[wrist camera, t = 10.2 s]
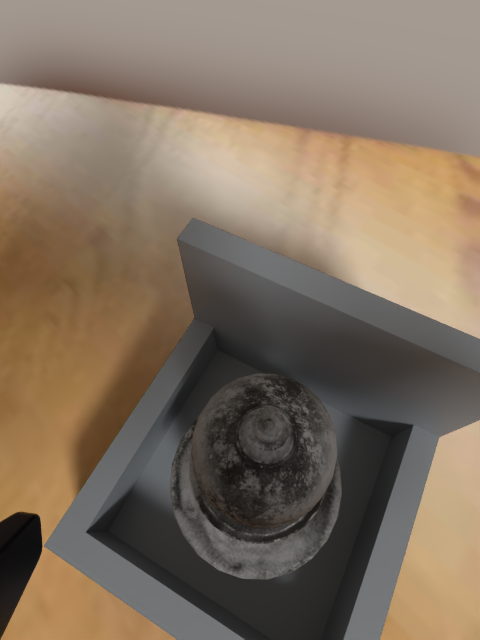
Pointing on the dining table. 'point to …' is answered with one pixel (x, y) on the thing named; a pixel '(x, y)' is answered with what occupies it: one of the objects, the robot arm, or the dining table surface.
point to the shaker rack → (351, 439)
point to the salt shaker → (258, 478)
